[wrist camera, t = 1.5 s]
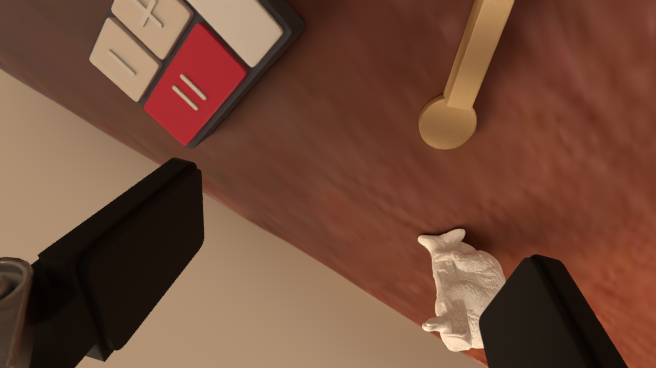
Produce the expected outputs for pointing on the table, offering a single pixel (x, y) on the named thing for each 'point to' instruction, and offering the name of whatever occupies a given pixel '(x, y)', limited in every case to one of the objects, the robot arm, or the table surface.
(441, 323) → the white squirrel figurine
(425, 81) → the table surface
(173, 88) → the calculator
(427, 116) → the wooden spoon
